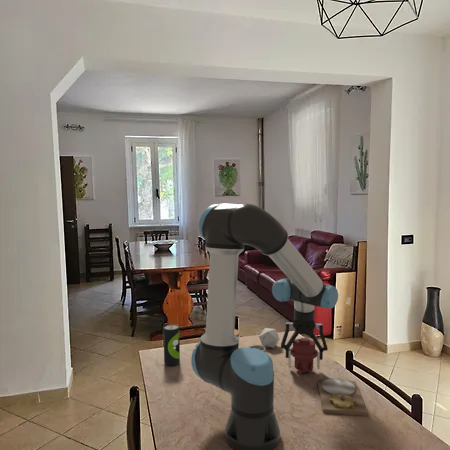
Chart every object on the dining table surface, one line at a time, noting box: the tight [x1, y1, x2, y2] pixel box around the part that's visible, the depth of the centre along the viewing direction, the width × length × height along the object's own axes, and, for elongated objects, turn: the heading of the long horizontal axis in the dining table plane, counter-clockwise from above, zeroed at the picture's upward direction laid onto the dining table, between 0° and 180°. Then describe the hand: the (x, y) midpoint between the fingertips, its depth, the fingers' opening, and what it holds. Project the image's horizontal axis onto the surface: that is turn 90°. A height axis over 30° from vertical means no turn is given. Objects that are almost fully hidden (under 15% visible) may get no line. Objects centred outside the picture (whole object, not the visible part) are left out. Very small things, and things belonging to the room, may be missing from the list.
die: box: [258, 327, 281, 349], centre depth 171 cm, size 8×9×10 cm
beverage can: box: [163, 324, 181, 367], centre depth 154 cm, size 6×6×15 cm
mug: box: [247, 344, 267, 353], centre depth 155 cm, size 10×7×7 cm
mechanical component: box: [290, 337, 317, 375], centre depth 146 cm, size 12×10×10 cm
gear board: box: [317, 377, 368, 417], centre depth 127 cm, size 20×13×3 cm, turn 171°
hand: (303, 366), depth 147 cm, fingers closed on mechanical component, 10 cm apart
